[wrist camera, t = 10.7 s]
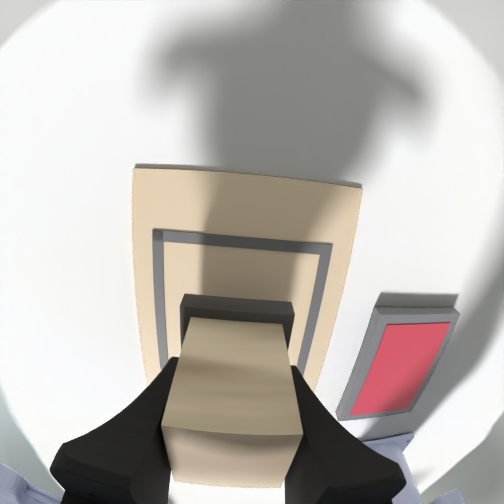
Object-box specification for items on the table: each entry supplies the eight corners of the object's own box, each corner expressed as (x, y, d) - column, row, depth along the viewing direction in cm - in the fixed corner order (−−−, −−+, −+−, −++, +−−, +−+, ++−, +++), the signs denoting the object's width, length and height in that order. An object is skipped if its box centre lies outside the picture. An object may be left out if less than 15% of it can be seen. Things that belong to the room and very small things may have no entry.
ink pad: (406, 403, 21) (411, 411, 20) (335, 412, 20) (338, 421, 19) (452, 306, 18) (460, 314, 17) (374, 306, 17) (380, 315, 16)
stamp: (276, 378, 15) (290, 491, 9) (186, 372, 15) (162, 483, 8) (291, 301, 14) (324, 423, 7) (184, 293, 14) (141, 411, 7)
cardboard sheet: (308, 405, 20) (309, 408, 20) (149, 394, 19) (149, 396, 19) (361, 188, 15) (363, 189, 14) (134, 168, 14) (132, 168, 14)
